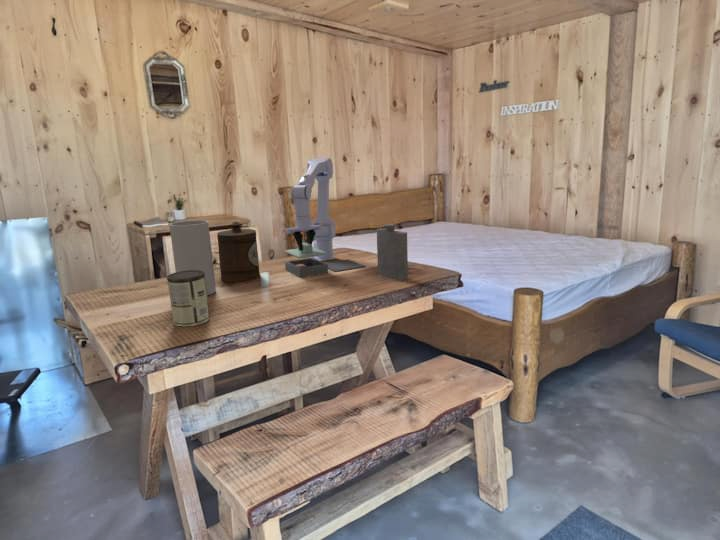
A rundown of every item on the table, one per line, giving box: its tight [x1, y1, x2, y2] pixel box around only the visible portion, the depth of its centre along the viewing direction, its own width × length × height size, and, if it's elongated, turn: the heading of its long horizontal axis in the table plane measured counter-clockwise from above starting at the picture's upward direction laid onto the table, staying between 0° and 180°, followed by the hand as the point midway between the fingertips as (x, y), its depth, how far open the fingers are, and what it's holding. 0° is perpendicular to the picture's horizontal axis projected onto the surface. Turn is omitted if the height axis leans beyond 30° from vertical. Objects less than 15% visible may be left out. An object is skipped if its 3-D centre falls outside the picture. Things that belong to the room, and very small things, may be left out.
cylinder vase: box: [169, 219, 217, 297], centre depth 167 cm, size 12×12×25 cm
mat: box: [325, 258, 367, 273], centre depth 203 cm, size 16×14×1 cm
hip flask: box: [376, 223, 409, 282], centre depth 180 cm, size 16×4×20 cm, turn 36°
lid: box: [284, 241, 327, 259], centre depth 194 cm, size 16×12×4 cm
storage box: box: [284, 257, 329, 278], centre depth 195 cm, size 16×12×4 cm
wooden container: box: [216, 221, 261, 283], centre depth 188 cm, size 15×15×22 cm
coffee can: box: [166, 270, 211, 328], centre depth 140 cm, size 10×10×14 cm
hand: (305, 249), depth 194 cm, fingers closed on lid, 3 cm apart
